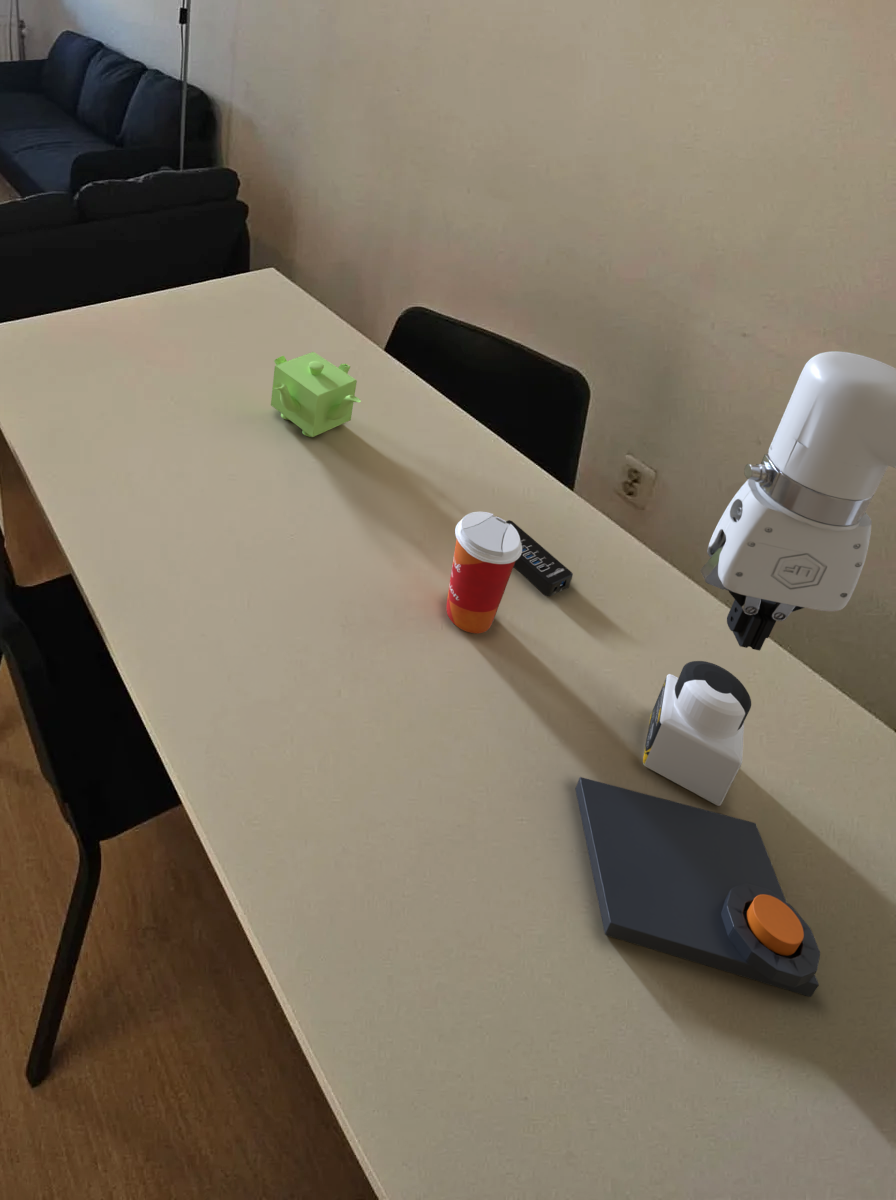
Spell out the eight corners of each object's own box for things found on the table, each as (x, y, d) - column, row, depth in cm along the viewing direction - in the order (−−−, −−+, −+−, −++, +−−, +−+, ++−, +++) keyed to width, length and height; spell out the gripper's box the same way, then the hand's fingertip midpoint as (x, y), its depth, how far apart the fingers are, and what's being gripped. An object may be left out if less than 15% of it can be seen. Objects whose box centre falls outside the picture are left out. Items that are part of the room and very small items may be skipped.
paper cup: (455, 581, 105) (475, 499, 100) (511, 616, 100) (535, 532, 95) (425, 614, 100) (445, 530, 95) (483, 653, 95) (506, 566, 90)
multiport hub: (507, 531, 114) (510, 518, 113) (570, 587, 105) (574, 574, 104) (484, 540, 112) (487, 527, 111) (547, 597, 103) (551, 584, 102)
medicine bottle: (649, 715, 89) (681, 639, 84) (724, 753, 85) (761, 676, 80) (641, 766, 83) (674, 688, 78) (720, 809, 80) (759, 730, 75)
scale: (752, 835, 77) (764, 813, 76) (818, 1009, 65) (834, 987, 64) (575, 788, 81) (583, 766, 79) (606, 945, 69) (617, 922, 67)
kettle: (353, 452, 129) (362, 395, 125) (267, 441, 131) (272, 385, 127) (348, 399, 143) (356, 346, 138) (270, 390, 145) (276, 338, 140)
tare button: (785, 912, 69) (792, 901, 68) (804, 962, 65) (812, 950, 65) (739, 900, 69) (746, 888, 69) (756, 947, 66) (763, 936, 66)
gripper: (733, 499, 67) (670, 650, 74) (938, 535, 64) (851, 690, 71) (702, 445, 74) (647, 589, 81) (886, 476, 71) (811, 622, 78)
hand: (743, 636), depth 76 cm, fingers closed
